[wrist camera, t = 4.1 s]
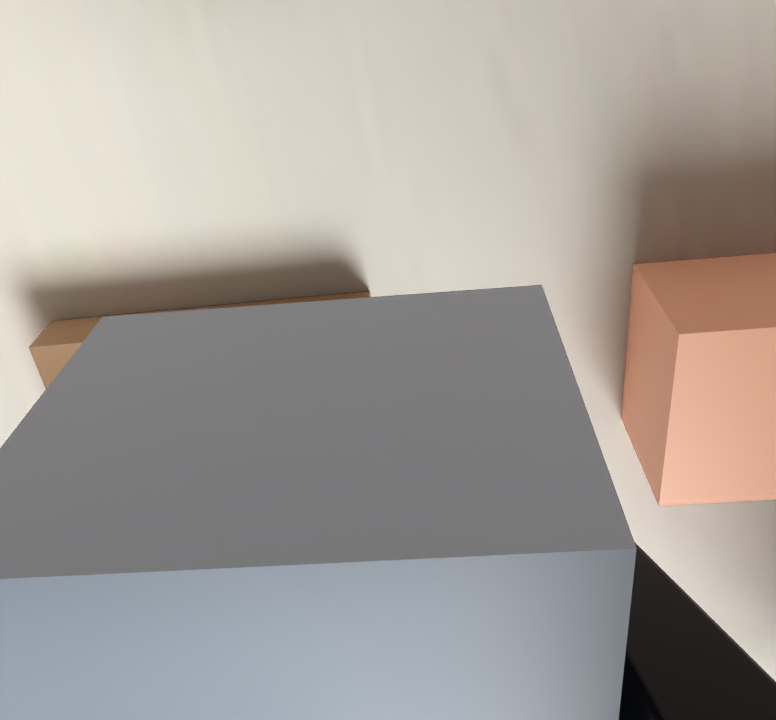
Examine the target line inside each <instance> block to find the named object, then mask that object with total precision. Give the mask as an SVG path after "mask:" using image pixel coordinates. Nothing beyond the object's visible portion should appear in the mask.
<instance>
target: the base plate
mask: <svg viewBox="0 0 776 720" xmlns="http://www.w3.org/2000/svg"><path fill="white" fill-rule="evenodd" d="M368 297H370V291H366V292H355V293H344V294H334V295H323V296H312V297H302V298H291V299H281V300H270V301H259V302H249V303H238V304H227V305H217V306H206V307H195V308H185V309H174V310H164V311H153V312H142V313H132V314H121V315H134V314H148V313H161V312H175V311H189V310H203V309H217V308H230V307H244V306H258V305H272V304H285V303H299V302H313V301H327V300H340V299H354V298H368ZM110 316H120V315H110ZM102 317H106V316H100V317H89V318H78V319H68V320H57V321H52V322H51V323H50V324H49V325H48V326H47V327H46V329H45V330H44V331H43V332H42V333H41V334H40V335H39V337H38V338H37V339H36V340H35V341H34V342H33V343H32V345H31V346H30V347H29V349H30V351H31V354H32V356H33V359H34V361H35V363H36V366H37V368H38V371H39V373H40V375H41V378H42V380H43V383H44V385H45V388H46V389H47V388H48V386H49V385H50V384H51V382H52V381H53V380H54V379H55V377H56V376H57V375H58V373H59V372H60V371H61V370H62V368H63V367H64V366H65V364H66V363H67V362H68V361H69V359H70V358H71V357H72V355H73V354H74V353H75V352H76V350H77V349H78V348H79V346H80V345H81V344H82V343H83V341H84V340H85V339H86V337H87V336H88V335H89V334H90V332H91V331H92V330H93V328H94V327H95V326H96V325H97V323H98V322H99V321H100V319H101V318H102Z"/></svg>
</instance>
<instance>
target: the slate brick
mask: <svg viewBox="0 0 776 720" xmlns="http://www.w3.org/2000/svg"><path fill="white" fill-rule="evenodd" d="M636 549H637V548H636V546H635V543H634V540H633V537H632V535H631V532H630V529H629V526H628V523H627V521H626V518H625V515H624V512H623V510H622V507H621V504H620V501H619V498H618V496H617V493H616V490H615V487H614V485H613V482H612V479H611V476H610V473H609V471H608V468H607V465H606V462H605V460H604V457H603V454H602V451H601V448H600V446H599V443H598V440H597V437H596V435H595V432H594V429H593V426H592V424H591V421H590V418H589V415H588V412H587V410H586V407H585V404H584V401H583V399H582V396H581V393H580V390H579V387H578V385H577V382H576V379H575V376H574V374H573V371H572V368H571V365H570V362H569V360H568V357H567V354H566V351H565V349H564V346H563V343H562V340H561V337H560V335H559V332H558V329H557V326H556V324H555V321H554V318H553V315H552V312H551V310H550V307H549V304H548V301H547V299H546V296H545V293H544V290H543V287H542V285H533V286H519V287H506V288H492V289H478V290H464V291H450V292H437V293H423V294H409V295H395V296H382V297H368V298H354V299H340V300H327V301H313V302H299V303H285V304H272V305H258V306H244V307H230V308H217V309H203V310H189V311H175V312H161V313H148V314H134V315H120V316H106V317H102V318H101V319H100V321H99V322H98V323H97V325H96V326H95V327H94V328H93V330H92V331H91V332H90V334H89V335H88V336H87V337H86V339H85V340H84V341H83V343H82V344H81V345H80V346H79V348H78V349H77V350H76V352H75V353H74V354H73V355H72V357H71V358H70V359H69V361H68V362H67V363H66V364H65V366H64V367H63V368H62V370H61V371H60V372H59V373H58V375H57V376H56V377H55V379H54V380H53V381H52V382H51V384H50V385H49V386H48V388H47V389H46V390H45V392H44V393H43V394H42V395H41V397H40V398H39V399H38V401H37V402H36V403H35V404H34V406H33V407H32V408H31V410H30V411H29V412H28V413H27V415H26V416H25V417H24V419H23V420H22V421H21V422H20V424H19V425H18V426H17V428H16V429H15V430H14V431H13V433H12V434H11V435H10V437H9V438H8V439H7V440H6V442H5V443H4V444H3V446H2V447H1V448H0V720H619V711H620V702H621V692H622V682H623V673H624V663H625V654H626V644H627V635H628V625H629V616H630V606H631V597H632V587H633V578H634V568H635V559H636Z"/></svg>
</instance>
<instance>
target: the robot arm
mask: <svg viewBox="0 0 776 720" xmlns="http://www.w3.org/2000/svg"><path fill="white" fill-rule="evenodd" d="M634 543H635V542H634ZM635 546H636V548H637V549H636V559H635V568H634V578H633V587H632V597H631V606H630V616H629V625H628V635H627V644H626V654H625V663H624V673H623V682H622V692H621V702H620V711H619V720H776V682H775V681H774V680H773V679H772V678H771V677H770V676H769V675H768V674H767V673H766V672H765V671H764V670H763V669H762V668H761V667H760V666H759V665H758V664H757V663H756V662H755V661H754V660H753V659H752V658H751V657H750V656H749V655H748V654H747V653H746V652H745V651H744V650H743V649H742V648H741V647H740V646H739V645H738V644H737V643H736V642H735V641H734V640H733V639H732V638H731V637H730V636H729V635H728V634H727V633H726V632H725V631H724V630H723V629H722V628H721V627H720V626H719V625H718V624H717V623H716V622H715V621H714V620H713V619H712V618H711V617H710V616H709V615H708V614H707V613H706V612H705V611H704V610H703V609H702V608H701V607H700V606H699V605H698V604H697V603H696V602H695V601H694V600H693V599H692V598H691V597H689V596H688V595H687V594H686V593H685V592H684V591H683V590H682V589H681V588H680V587H679V586H678V585H677V584H676V583H675V582H674V581H673V580H672V579H671V578H670V577H669V576H668V575H667V574H666V573H665V572H664V571H663V570H662V569H661V568H660V567H659V566H658V565H657V564H656V563H655V562H654V561H653V560H652V559H651V558H650V557H649V556H648V555H647V554H646V553H645V552H644V551H643V550H642V549H641V548H640V547H639V546H638V545H637V544H636V543H635Z"/></svg>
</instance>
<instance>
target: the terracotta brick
mask: <svg viewBox="0 0 776 720" xmlns="http://www.w3.org/2000/svg"><path fill="white" fill-rule="evenodd" d="M621 419H622V421H623V423H624V426H625V428H626V430H627V433H628V435H629V437H630V440H631V442H632V444H633V447H634V449H635V451H636V454H637V456H638V458H639V461H640V463H641V465H642V468H643V470H644V472H645V475H646V477H647V479H648V482H649V484H650V486H651V489H652V491H653V494H654V496H655V498H656V501H657V503H658V505H659V506H669V505H687V504H704V503H722V502H740V501H757V500H775V499H776V253H767V254H755V255H742V256H729V257H717V258H704V259H691V260H678V261H666V262H653V263H640V264H633V274H632V287H631V300H630V312H629V325H628V338H627V351H626V364H625V377H624V389H623V402H622V415H621Z"/></svg>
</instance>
